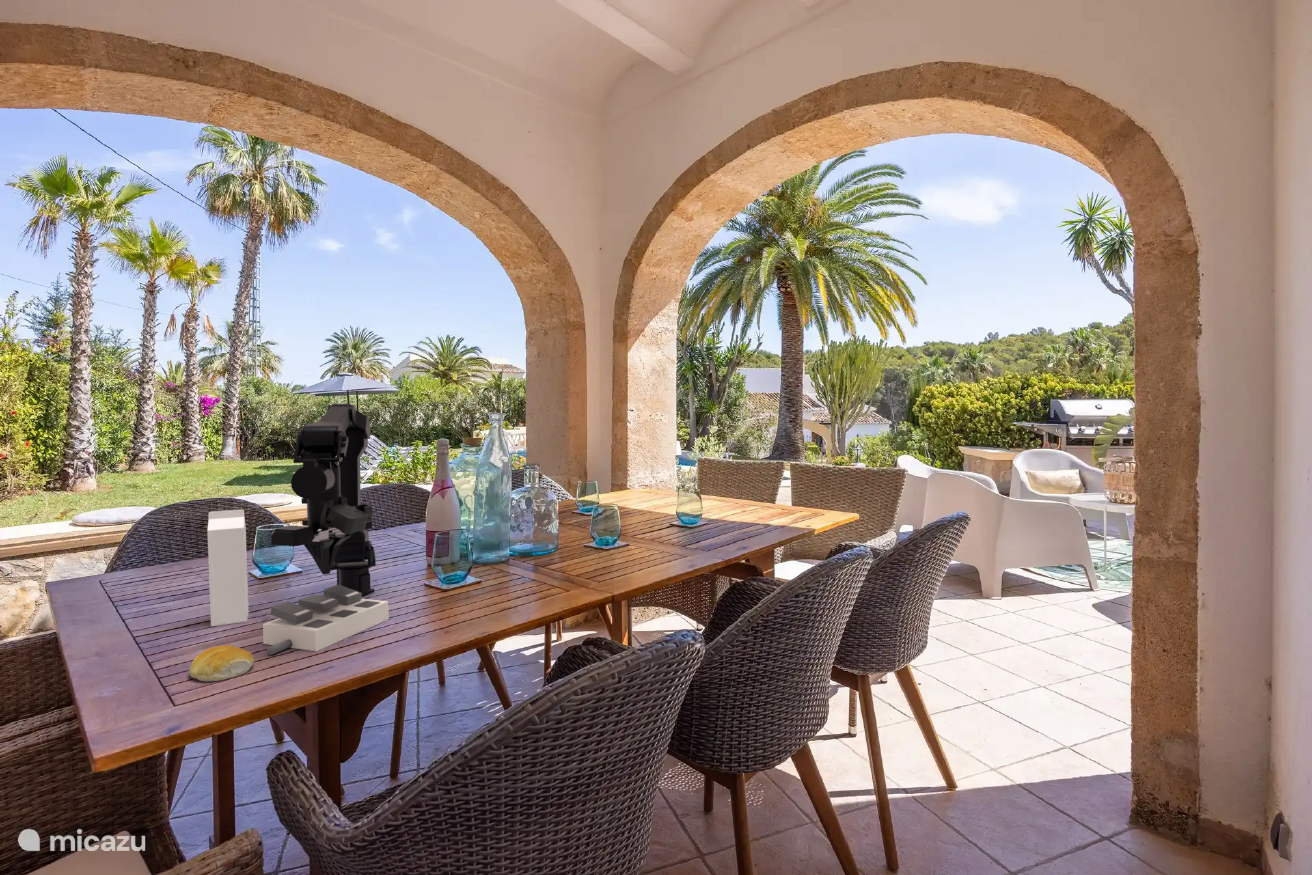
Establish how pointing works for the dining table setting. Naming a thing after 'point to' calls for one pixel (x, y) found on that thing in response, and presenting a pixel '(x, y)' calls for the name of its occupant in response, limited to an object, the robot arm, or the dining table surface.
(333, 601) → the rocker middle
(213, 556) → the milk
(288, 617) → the rocker
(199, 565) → the dining table surface
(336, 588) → the rocker
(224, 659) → the bread roll
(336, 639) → the power strip
